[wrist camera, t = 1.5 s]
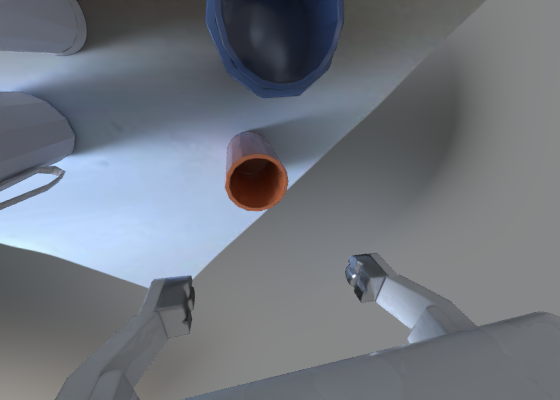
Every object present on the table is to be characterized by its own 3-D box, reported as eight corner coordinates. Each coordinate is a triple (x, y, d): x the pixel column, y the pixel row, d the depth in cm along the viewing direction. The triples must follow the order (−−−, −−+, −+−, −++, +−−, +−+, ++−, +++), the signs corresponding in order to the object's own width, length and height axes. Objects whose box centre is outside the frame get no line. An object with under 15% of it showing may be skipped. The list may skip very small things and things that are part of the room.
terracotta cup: (240, 122, 26) (245, 141, 17) (278, 146, 28) (299, 173, 20) (219, 161, 27) (214, 196, 19) (257, 180, 30) (267, 219, 22)
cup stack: (245, -24, 19) (260, -144, 9) (306, 36, 23) (368, -2, 12) (209, 57, 22) (191, 34, 12) (269, 101, 25) (296, 113, 15)
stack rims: (246, -108, 12) (250, -149, 10) (350, 15, 16) (369, 4, 14) (187, 45, 15) (180, 38, 13) (288, 117, 19) (295, 121, 16)
